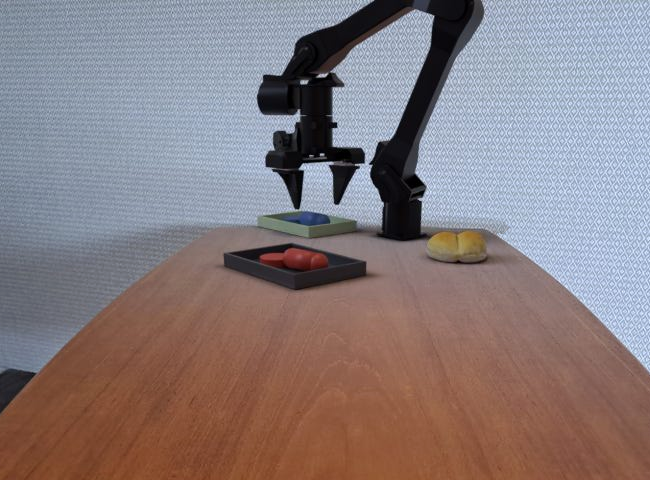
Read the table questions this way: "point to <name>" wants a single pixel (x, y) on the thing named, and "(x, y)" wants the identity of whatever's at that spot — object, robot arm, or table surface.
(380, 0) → the robot arm
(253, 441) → the table surface
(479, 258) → the bread roll
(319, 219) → the blue elongated piece
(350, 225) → the back tray
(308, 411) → the table surface
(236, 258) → the front tray
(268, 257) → the red elongated piece
